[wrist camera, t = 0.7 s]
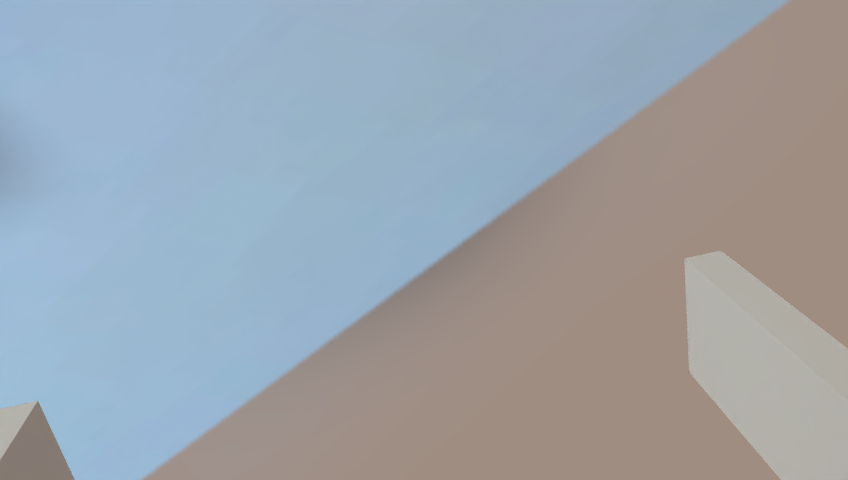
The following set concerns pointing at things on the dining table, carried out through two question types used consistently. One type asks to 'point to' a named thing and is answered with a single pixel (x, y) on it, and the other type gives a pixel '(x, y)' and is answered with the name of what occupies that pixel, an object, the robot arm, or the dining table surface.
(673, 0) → the dining table surface
